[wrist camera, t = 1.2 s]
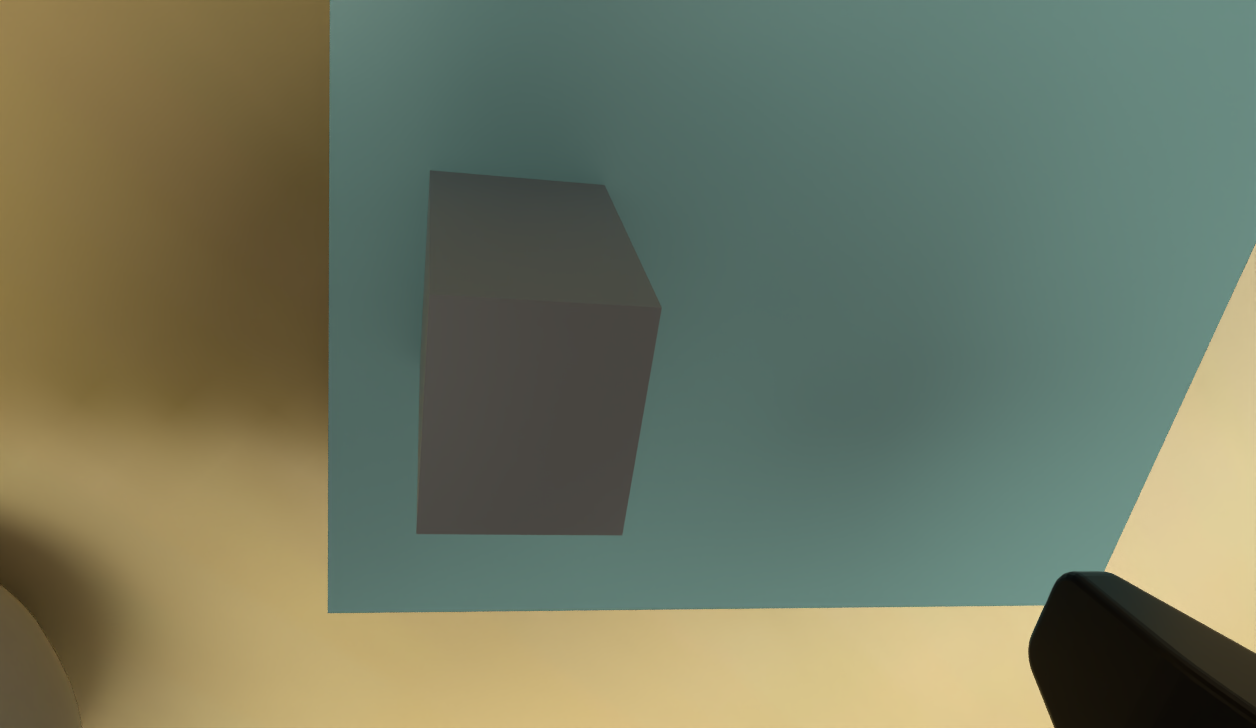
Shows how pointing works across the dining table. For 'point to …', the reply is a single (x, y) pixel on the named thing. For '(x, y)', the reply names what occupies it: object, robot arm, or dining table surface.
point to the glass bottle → (31, 673)
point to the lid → (767, 293)
